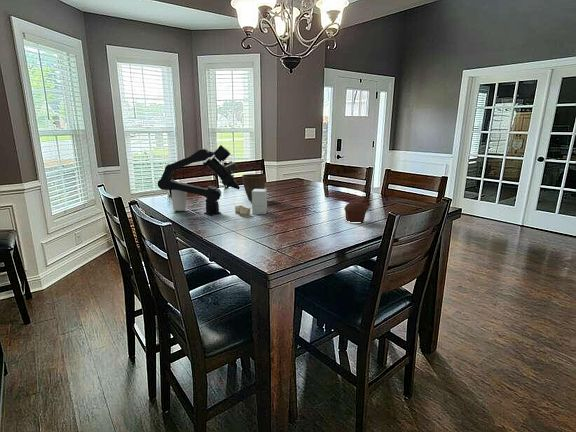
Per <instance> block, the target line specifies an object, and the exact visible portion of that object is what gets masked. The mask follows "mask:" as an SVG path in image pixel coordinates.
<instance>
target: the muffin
mask: <svg viewBox="0 0 576 432" xmlns="http://www.w3.org/2000/svg"><path fill="white" fill-rule="evenodd" d="M368 210H369V209H368V208H367V205H366V204H364V203H363V202H361V201H350V202H348V203H347V204H346V205H345V207H344V212H345V215H344V216H345V221H346V220H347V221H350V222H363V221H364V222H365V217H366V214H367V212H368ZM347 221H346V222H347ZM364 222H363V223H364Z"/></svg>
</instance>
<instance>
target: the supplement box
mask: <svg viewBox="0 0 576 432" xmlns="http://www.w3.org/2000/svg"><path fill="white" fill-rule="evenodd" d="M251 211H252V215H266V214H267V212H268V189H266V188H264V189H254V190H253V191H252V201H251Z"/></svg>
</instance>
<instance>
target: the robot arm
mask: <svg viewBox="0 0 576 432" xmlns="http://www.w3.org/2000/svg"><path fill="white" fill-rule="evenodd" d="M230 156H231V152H230V151H229V150H228V149H227V148H226V147H225V146H223V145H221V144H220V145H219V146H218V148H217V149H216V150H215V151H209V150H208V149H206V148H200V149H199V150H197V151H196V152H194V153H193V154H191V155H190V156H187V157H184V158H182V159H179V160H178V161H175V162H172V163H169V164H167V165H165V168H164V170H163V172H162V175H161V178H159V180H157V186H158V188H159V189H160V190H162V191H171V190H179V191H184V192H187V194H188V193H189V194H194V195H197V196H203V197H204V198H206V199H205V200H204V202H205V212H203V214H204V215H209V216H215V215H218V214H221V213H222V212H221V211H220V207H219V206H220V204H219V200H220V198H221V196H222V191H221V189H220V188H217V187H218V186H213V185H208V186H207V187H202V186H198V185H197V186H196V185H193V184H188V183H187V184H184V183H185V182H179V181H177V180H175V179H173V174H174V172H175V171H177V170H178V169H181V168H184V167H185V166H186V167H187V166H188V165H190V164H193V163H199V162H202V165H203V167H202V168H203V169H205V168H206V167H207V168H208V169H210V170H211V171H212V172H213V173H214V175H216V176H217V177H218V178H219V179H220V180H221V184H222V185H223V186H227V187H231V188H233V189H235V190H240V185H239V184H238V182H237V181H236V180H235V175H234V171H233V170H236V169H238V165H237V163H236V161H229V162H228V164H227V165H224V164H222V163H221V162H225V161H226V160H227V159H228V158H229V157H230Z"/></svg>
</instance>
